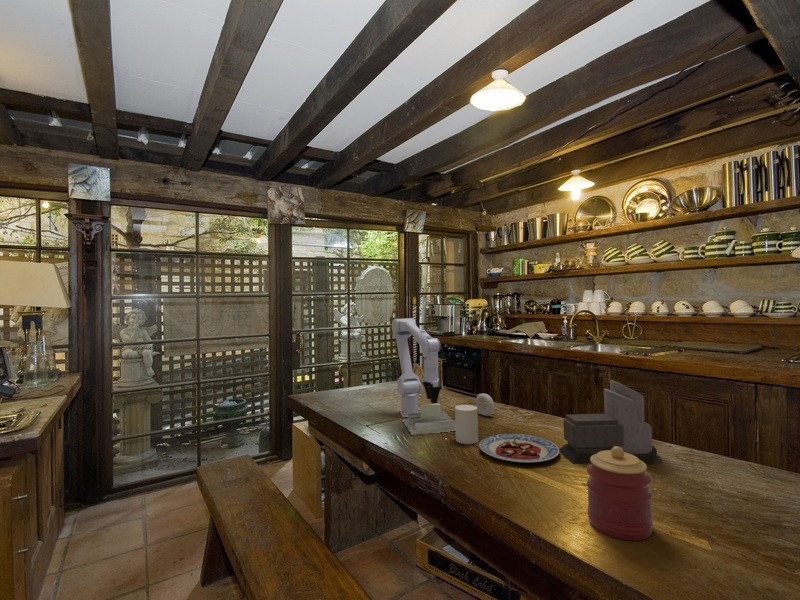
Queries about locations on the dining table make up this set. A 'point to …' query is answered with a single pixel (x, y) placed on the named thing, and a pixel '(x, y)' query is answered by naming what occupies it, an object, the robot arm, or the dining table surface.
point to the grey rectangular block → (430, 411)
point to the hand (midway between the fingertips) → (432, 401)
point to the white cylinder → (466, 424)
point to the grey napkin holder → (611, 428)
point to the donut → (489, 403)
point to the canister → (619, 495)
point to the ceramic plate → (519, 448)
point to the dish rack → (429, 424)
